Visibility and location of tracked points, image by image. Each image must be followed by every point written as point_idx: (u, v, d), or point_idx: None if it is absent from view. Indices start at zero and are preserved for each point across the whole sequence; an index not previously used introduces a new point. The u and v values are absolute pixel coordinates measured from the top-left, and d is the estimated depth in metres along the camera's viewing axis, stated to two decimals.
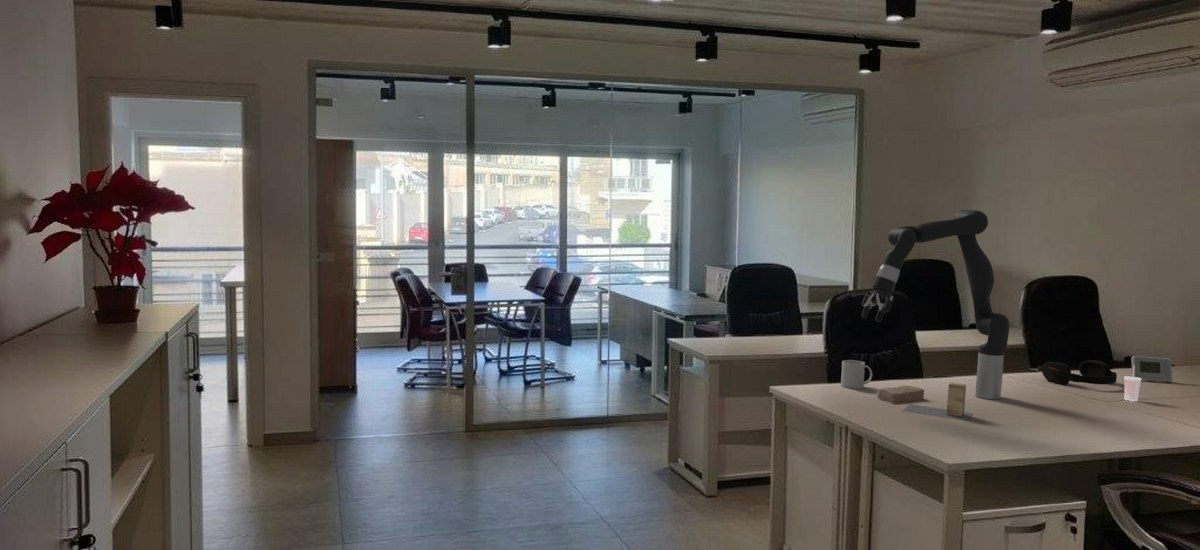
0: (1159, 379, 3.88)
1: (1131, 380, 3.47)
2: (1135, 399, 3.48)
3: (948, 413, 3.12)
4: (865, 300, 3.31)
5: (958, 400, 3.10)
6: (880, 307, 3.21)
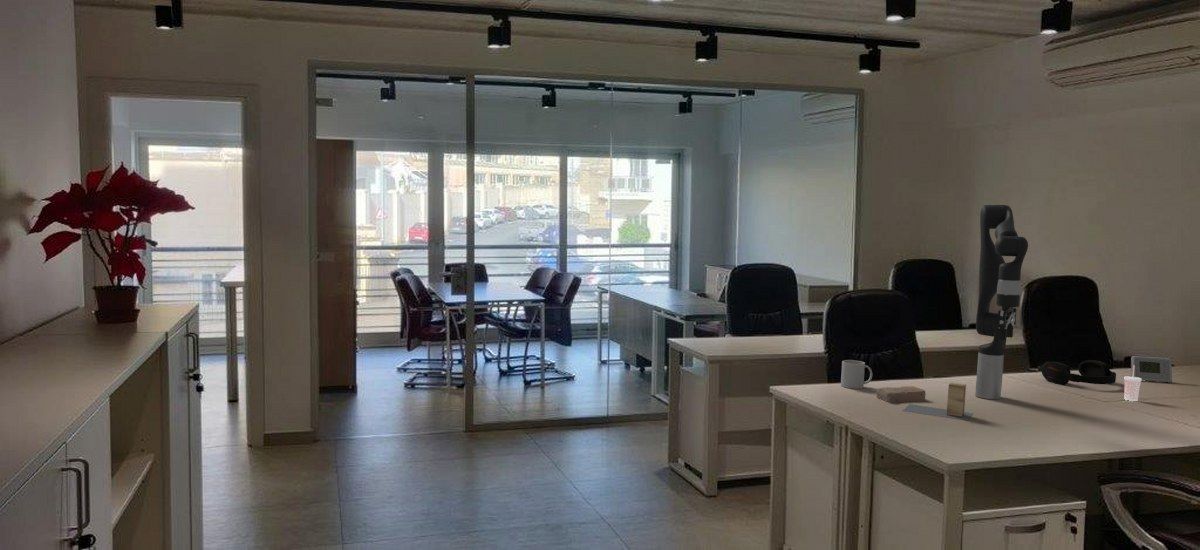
0: (1159, 379, 3.88)
1: (1131, 380, 3.47)
2: (1135, 399, 3.48)
3: (948, 413, 3.12)
4: None
5: (958, 400, 3.10)
6: (1013, 323, 3.15)
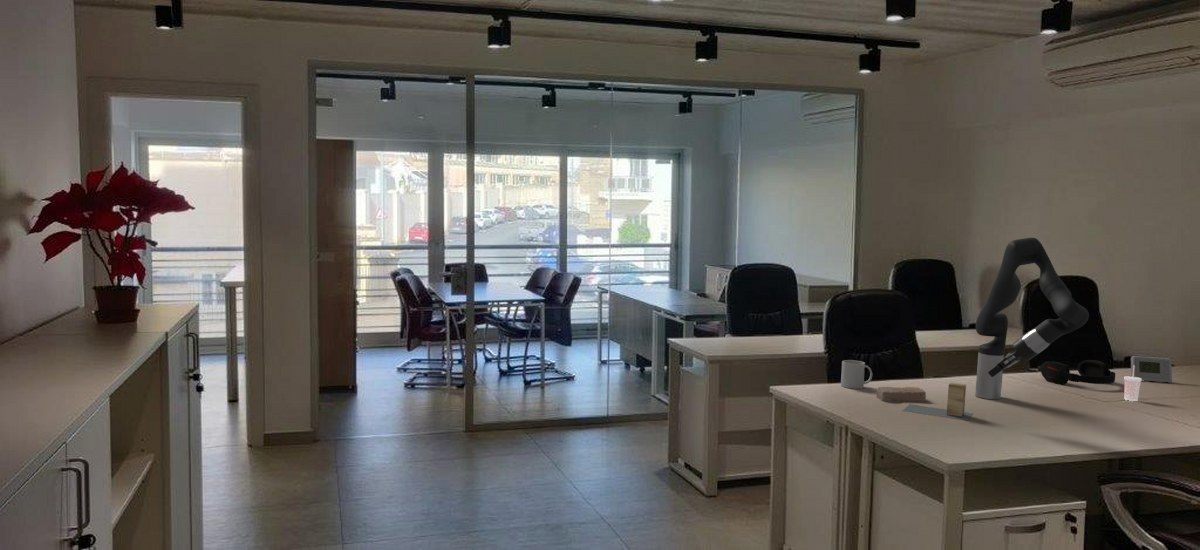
0: (1158, 379, 3.88)
1: (1131, 380, 3.47)
2: (1135, 399, 3.48)
3: (948, 413, 3.12)
4: None
5: (958, 400, 3.10)
6: (1004, 368, 3.04)
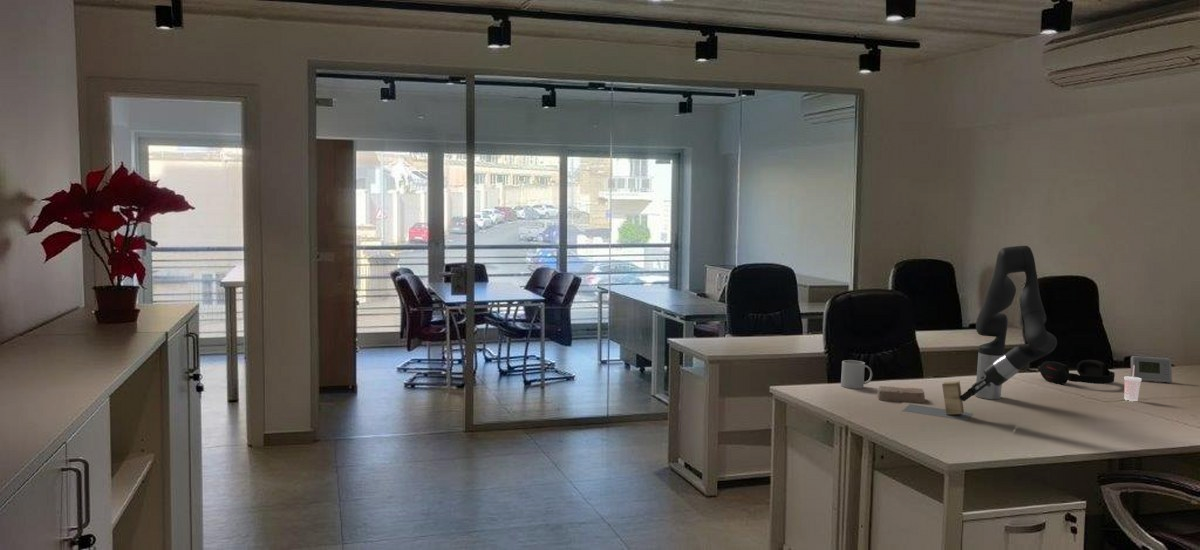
0: (1158, 379, 3.88)
1: (1131, 380, 3.47)
2: (1135, 399, 3.48)
3: (948, 413, 3.12)
4: None
5: (954, 397, 3.11)
6: None
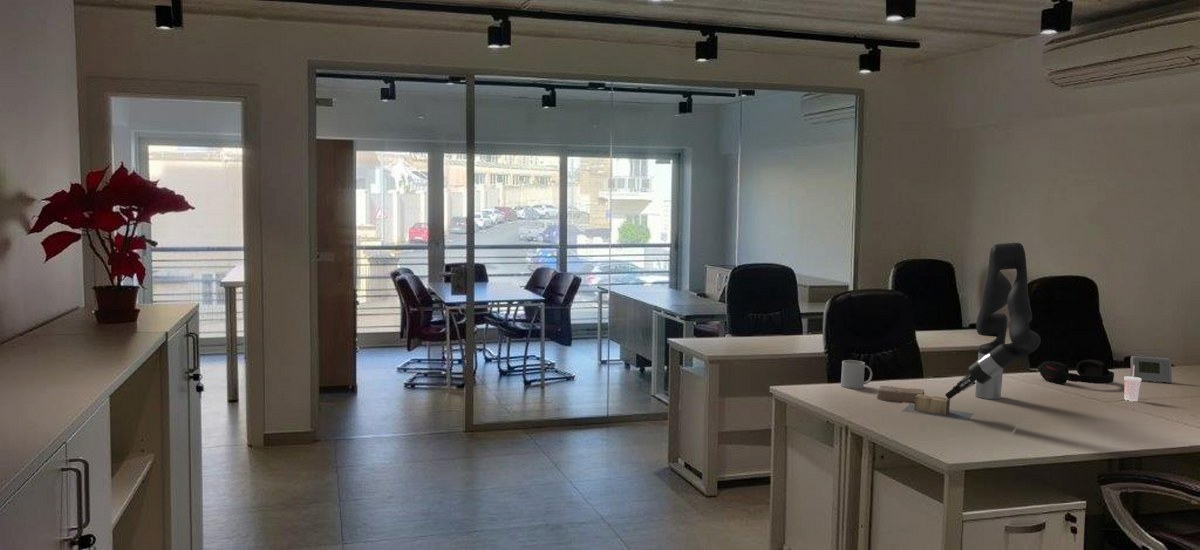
0: (1158, 379, 3.88)
1: (1131, 380, 3.47)
2: (1135, 399, 3.48)
3: (944, 413, 3.13)
4: None
5: (929, 402, 3.16)
6: None
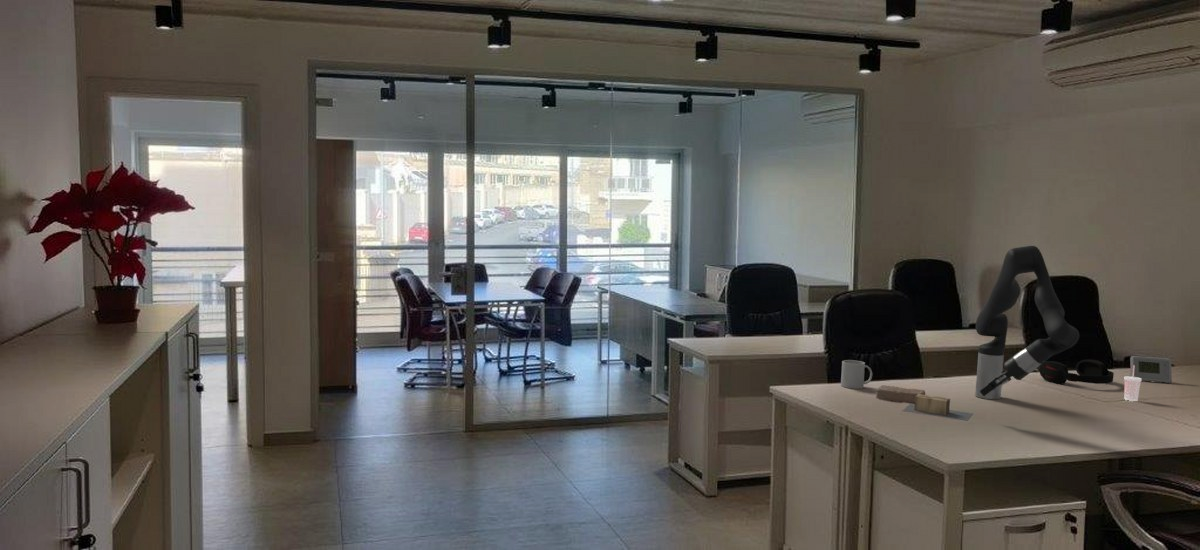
0: (1158, 379, 3.88)
1: (1131, 380, 3.47)
2: (1135, 399, 3.48)
3: (944, 413, 3.13)
4: (996, 385, 3.02)
5: (929, 402, 3.16)
6: (996, 387, 3.05)
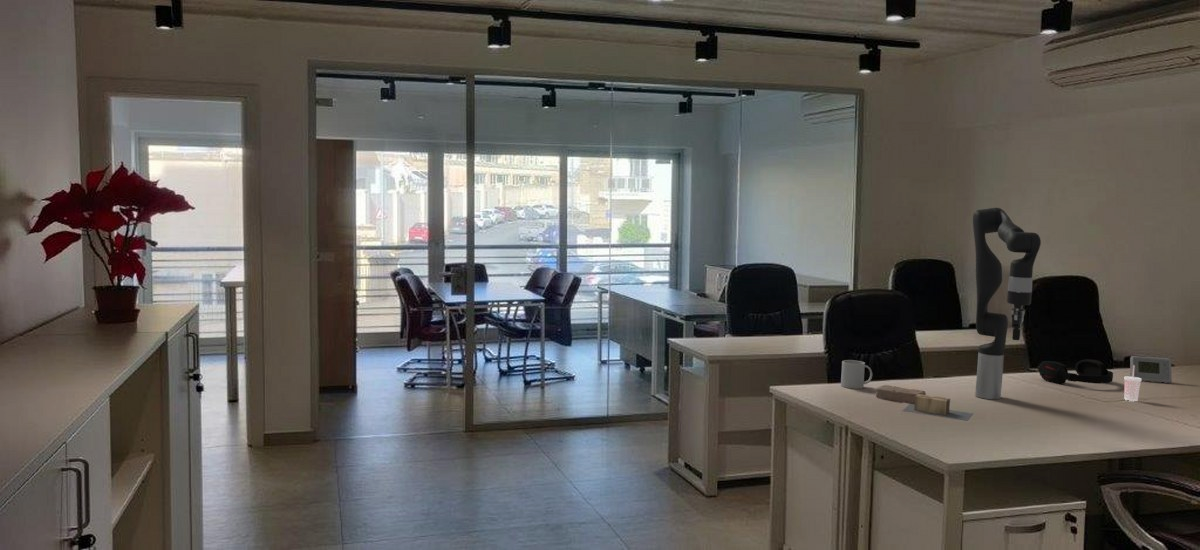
0: (1158, 379, 3.87)
1: (1131, 380, 3.47)
2: (1135, 399, 3.48)
3: (944, 413, 3.13)
4: None
5: (929, 402, 3.16)
6: (1020, 325, 3.05)
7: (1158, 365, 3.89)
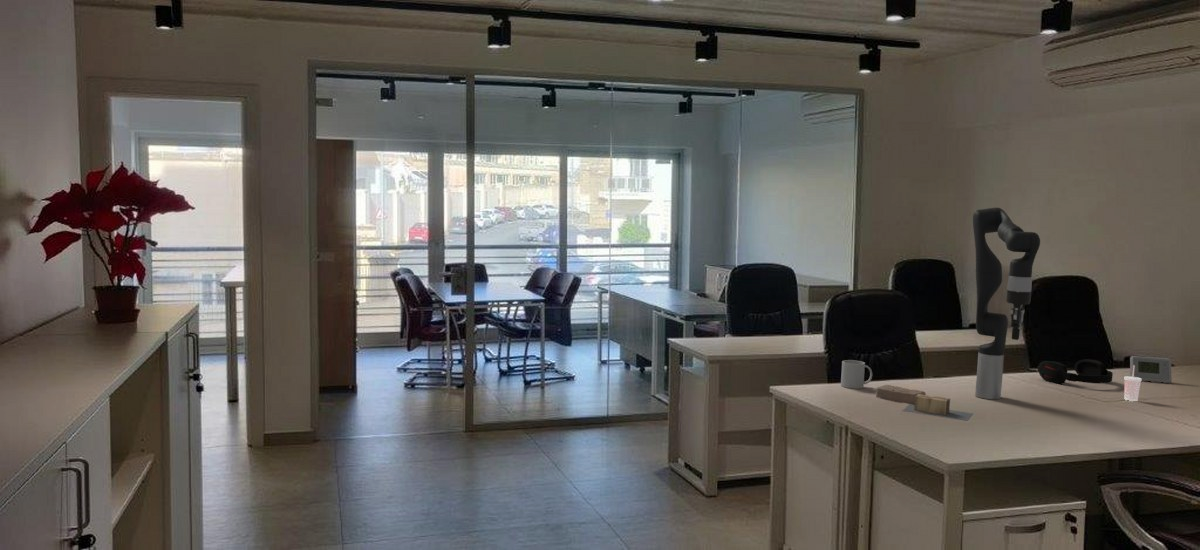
0: (1157, 379, 3.87)
1: (1131, 380, 3.47)
2: (1135, 399, 3.48)
3: (944, 413, 3.13)
4: None
5: (929, 402, 3.16)
6: (1020, 325, 3.05)
7: (1158, 365, 3.89)
